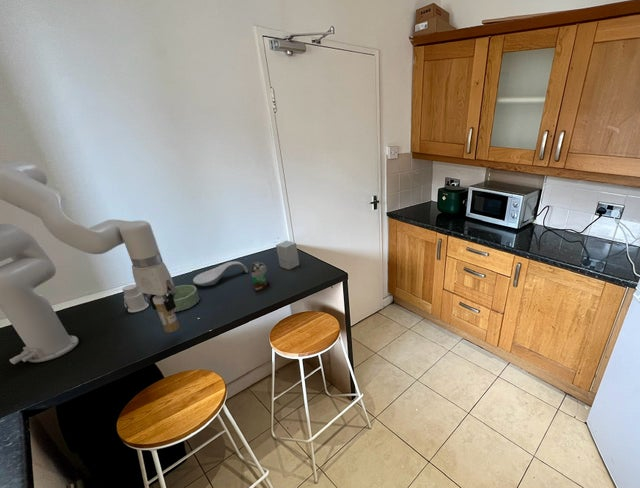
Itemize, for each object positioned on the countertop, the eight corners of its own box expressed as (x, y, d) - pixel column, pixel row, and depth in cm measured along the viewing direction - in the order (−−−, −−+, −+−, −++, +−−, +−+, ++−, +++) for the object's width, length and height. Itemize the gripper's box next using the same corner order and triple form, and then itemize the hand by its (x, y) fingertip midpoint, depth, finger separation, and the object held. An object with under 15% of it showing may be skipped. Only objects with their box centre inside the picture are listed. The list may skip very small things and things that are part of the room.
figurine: (270, 290, 143) (266, 271, 139) (255, 292, 141) (251, 273, 137) (269, 278, 154) (265, 260, 149) (256, 280, 152) (251, 262, 147)
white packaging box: (300, 264, 168) (296, 242, 162) (288, 270, 162) (284, 247, 156) (290, 261, 171) (287, 240, 166) (279, 266, 165) (275, 244, 160)
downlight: (153, 302, 134) (144, 281, 130) (146, 311, 128) (137, 290, 124) (130, 305, 132) (121, 284, 127) (123, 314, 126) (113, 293, 121)
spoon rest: (199, 292, 142) (194, 278, 138) (191, 283, 149) (187, 270, 146) (251, 275, 157) (248, 262, 154) (242, 267, 164) (239, 255, 161)
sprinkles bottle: (180, 330, 110) (168, 297, 104) (164, 334, 108) (151, 301, 102) (179, 323, 113) (168, 291, 107) (164, 327, 111) (152, 295, 105)
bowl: (182, 314, 126) (178, 303, 123) (153, 311, 128) (149, 299, 126) (207, 297, 138) (203, 286, 135) (180, 294, 140) (176, 283, 138)
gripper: (112, 262, 97) (133, 311, 105) (160, 267, 94) (177, 317, 102) (135, 253, 103) (153, 299, 111) (180, 257, 101) (195, 305, 109)
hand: (164, 308), depth 107 cm, fingers closed on sprinkles bottle, 4 cm apart
